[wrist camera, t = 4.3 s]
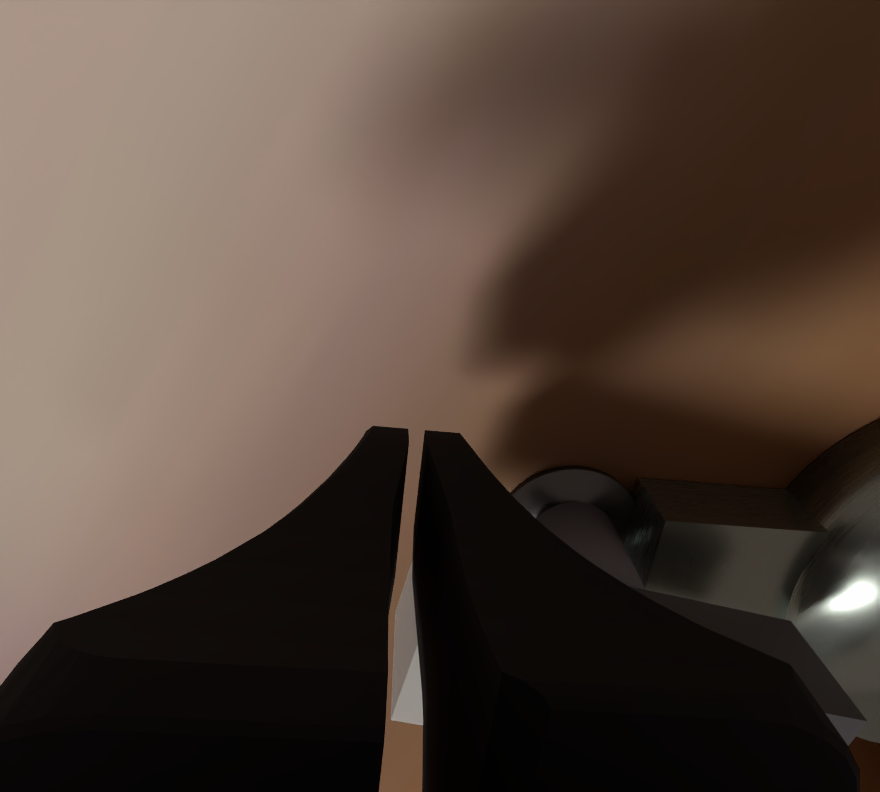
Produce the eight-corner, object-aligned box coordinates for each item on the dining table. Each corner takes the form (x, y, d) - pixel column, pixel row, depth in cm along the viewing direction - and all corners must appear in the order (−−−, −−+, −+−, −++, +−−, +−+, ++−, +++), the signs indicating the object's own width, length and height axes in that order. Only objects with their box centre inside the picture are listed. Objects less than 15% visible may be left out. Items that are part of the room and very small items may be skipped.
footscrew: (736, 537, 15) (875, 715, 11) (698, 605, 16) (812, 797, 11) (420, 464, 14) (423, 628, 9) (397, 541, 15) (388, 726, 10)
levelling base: (977, 809, 21) (1071, 923, 18) (449, 789, 19) (456, 909, 16) (1407, 182, 13) (1707, 198, 10) (572, 75, 12) (626, 57, 9)
